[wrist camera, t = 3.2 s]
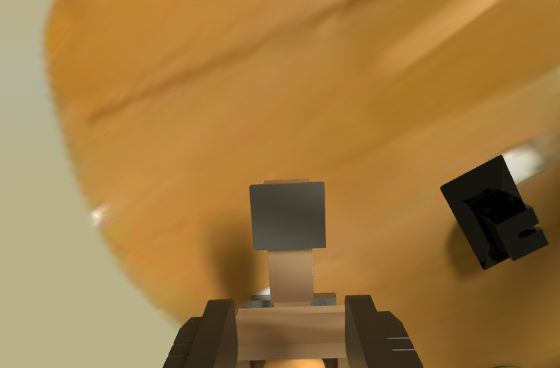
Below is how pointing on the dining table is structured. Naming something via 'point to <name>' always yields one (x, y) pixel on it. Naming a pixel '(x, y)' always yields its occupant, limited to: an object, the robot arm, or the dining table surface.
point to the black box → (493, 214)
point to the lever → (290, 280)
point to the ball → (295, 363)
